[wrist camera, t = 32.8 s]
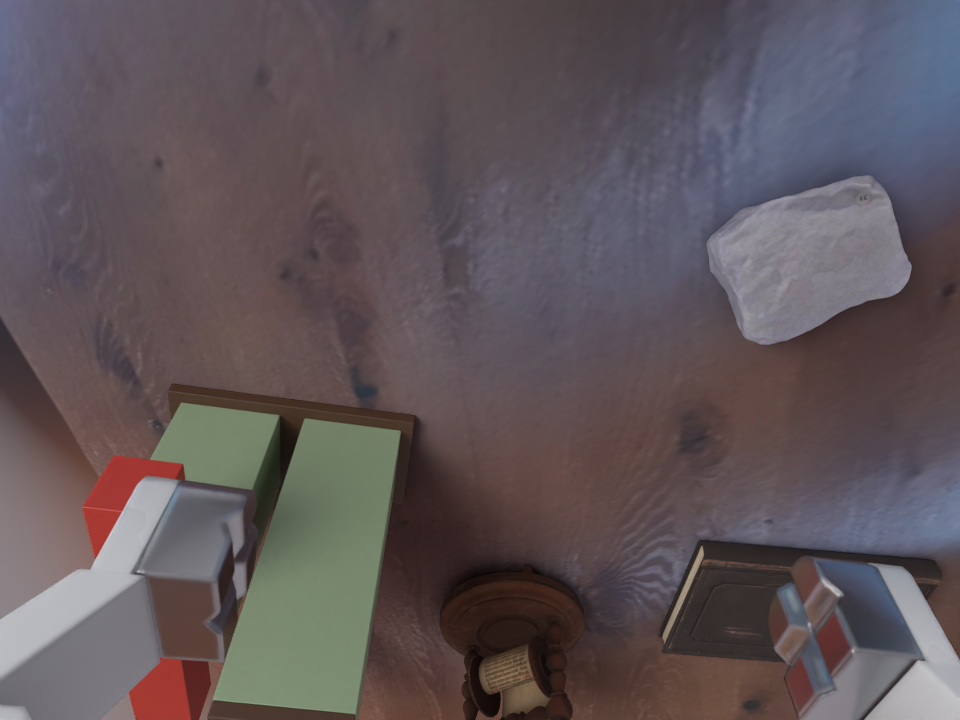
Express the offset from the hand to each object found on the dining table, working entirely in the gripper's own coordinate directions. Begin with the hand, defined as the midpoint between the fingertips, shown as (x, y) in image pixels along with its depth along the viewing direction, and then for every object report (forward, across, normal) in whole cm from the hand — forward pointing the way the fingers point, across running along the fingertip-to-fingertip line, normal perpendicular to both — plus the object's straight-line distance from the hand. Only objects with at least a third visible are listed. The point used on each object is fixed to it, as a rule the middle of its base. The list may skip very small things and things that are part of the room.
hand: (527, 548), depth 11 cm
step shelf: (+39, +12, +37) cm, 55 cm away
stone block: (+39, -23, +11) cm, 47 cm away
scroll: (+39, -11, +56) cm, 69 cm away
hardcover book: (+39, -38, +49) cm, 74 cm away
